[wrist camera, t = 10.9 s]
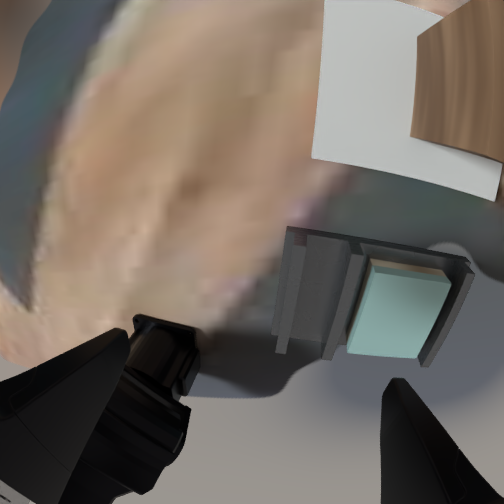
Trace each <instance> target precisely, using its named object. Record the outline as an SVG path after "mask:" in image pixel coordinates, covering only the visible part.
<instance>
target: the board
mask: <svg viewBox="0 0 504 504" xmlns="http://www.w3.org/2000/svg"><path fill="white" fill-rule="evenodd" d="M443 18H444V17H442V16H439V15H437V14H434V13H432V12H429V11H426V10H423V9H421V8H418V7H415V6H412V5H408V4H405V3H402V2H399V1H395V0H325V2H324V22H323V38H322V53H321V66H320V78H319V89H318V100H317V110H316V119H315V129H314V138H313V146H312V155H311V158H313V159H320V160H326V161H332V162H338V163H344V164H350V165H355V166H360V167H365V168H370V169H375V170H380V171H385V172H389V173H394V174H398V175H403V176H407V177H411V178H415V179H419V180H423V181H427V182H431V183H435V184H438V185H442V186H446V187H449V188H453V189H456V190H459V191H463V192H466V193H469V194H473V195H476V196H479V197H482V198H485V199H488V200H491V201H494V202H495V198H496V194H497V189H498V185H499V180H500V175H501V170H502V163H499V162H496V161H493V160H490V159H487V158H484V157H481V156H477V155H474V154H471V153H467V152H464V151H460V150H457V149H453V148H449V147H445V146H441V145H437V144H434V143H431V142H427V141H424V140H420V139H417V138H413V137H410V131H411V123H412V114H413V105H414V93H415V80H416V60H417V36H418V35H420V34H421V33H423V32H424V31H426V30H427V29H428V28H430V27H431V26H433V25H434V24H436V23H437V22H438V21H440V20H441V19H443Z"/></svg>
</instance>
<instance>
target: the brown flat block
mask: <svg viewBox="0 0 504 504" xmlns="http://www.w3.org/2000/svg"><path fill="white" fill-rule="evenodd" d="M410 137H413V138H417V139H420V140H424V141H427V142H431V143H434V144H437V145H441V146H445V147H449V148H453V149H457V150H460V151H464V152H467V153H471V154H474V155H477V156H481V157H484V158H487V159H490V160H493V161H496V162H499V163H502V164H504V1H503V0H471V1H469V2H467V3H466V4H464V5H463V6H461V7H460V8H458V9H456V10H455V11H453V12H452V13H450V14H449V15H447V16H446V17H444V18H443V19H441V20H440V21H438V22H437V23H436V24H434V25H433V26H431V27H430V28H428V29H427V30H426V31H424V32H423V33H421V34H420V35H418V36H417V60H416V80H415V93H414V105H413V114H412V123H411V131H410Z"/></svg>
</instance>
